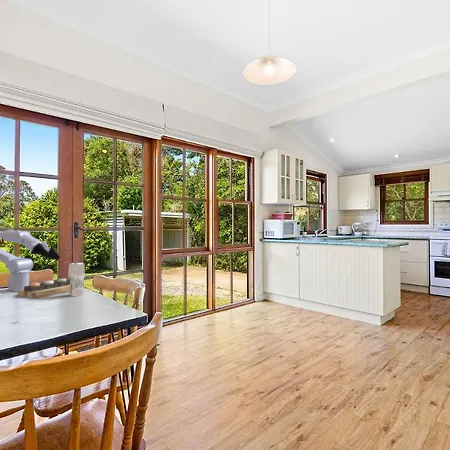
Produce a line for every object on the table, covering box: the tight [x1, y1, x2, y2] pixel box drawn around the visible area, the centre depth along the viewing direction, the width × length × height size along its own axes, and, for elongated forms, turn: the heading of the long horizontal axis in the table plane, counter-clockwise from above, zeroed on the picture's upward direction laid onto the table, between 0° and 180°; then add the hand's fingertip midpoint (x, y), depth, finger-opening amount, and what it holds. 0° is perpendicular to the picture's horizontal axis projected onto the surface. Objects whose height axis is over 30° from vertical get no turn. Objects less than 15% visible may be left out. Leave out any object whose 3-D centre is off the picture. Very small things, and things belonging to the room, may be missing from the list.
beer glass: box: [68, 262, 86, 297], centre depth 147 cm, size 7×7×15 cm
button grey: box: [43, 280, 54, 285], centre depth 152 cm, size 4×4×2 cm
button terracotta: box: [29, 282, 41, 287], centre depth 145 cm, size 4×4×2 cm
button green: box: [57, 278, 67, 282], centre depth 158 cm, size 4×4×2 cm
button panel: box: [17, 279, 70, 299], centre depth 151 cm, size 14×21×4 cm, turn 154°
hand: (53, 256), depth 151 cm, fingers open, 7 cm apart
